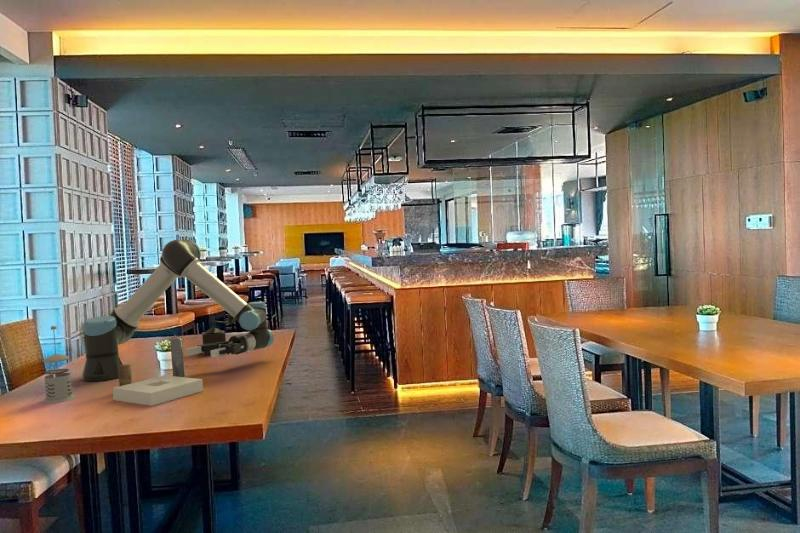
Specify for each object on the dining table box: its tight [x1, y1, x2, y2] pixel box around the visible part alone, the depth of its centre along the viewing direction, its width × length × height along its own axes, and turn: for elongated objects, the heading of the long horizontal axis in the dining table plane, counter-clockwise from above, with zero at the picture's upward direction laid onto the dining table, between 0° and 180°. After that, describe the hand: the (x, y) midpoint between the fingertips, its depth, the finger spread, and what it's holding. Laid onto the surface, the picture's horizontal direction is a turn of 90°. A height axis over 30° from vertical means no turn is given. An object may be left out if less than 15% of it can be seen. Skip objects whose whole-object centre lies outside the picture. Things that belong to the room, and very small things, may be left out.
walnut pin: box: [118, 364, 133, 387], centre depth 223 cm, size 4×4×9 cm
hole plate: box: [112, 374, 204, 407], centre depth 214 cm, size 20×20×4 cm
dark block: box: [201, 313, 236, 356], centre depth 296 cm, size 16×11×18 cm
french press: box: [42, 325, 76, 404], centre depth 217 cm, size 10×12×25 cm
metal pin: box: [169, 337, 186, 377], centre depth 232 cm, size 4×4×16 cm
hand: (198, 353), depth 240 cm, fingers open, 13 cm apart
